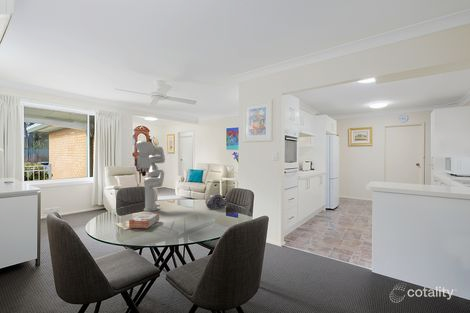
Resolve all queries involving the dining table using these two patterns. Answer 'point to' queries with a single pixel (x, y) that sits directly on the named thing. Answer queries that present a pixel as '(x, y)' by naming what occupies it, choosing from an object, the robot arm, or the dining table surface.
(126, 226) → the board
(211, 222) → the dining table surface
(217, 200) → the toy elephant
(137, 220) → the cracker box
